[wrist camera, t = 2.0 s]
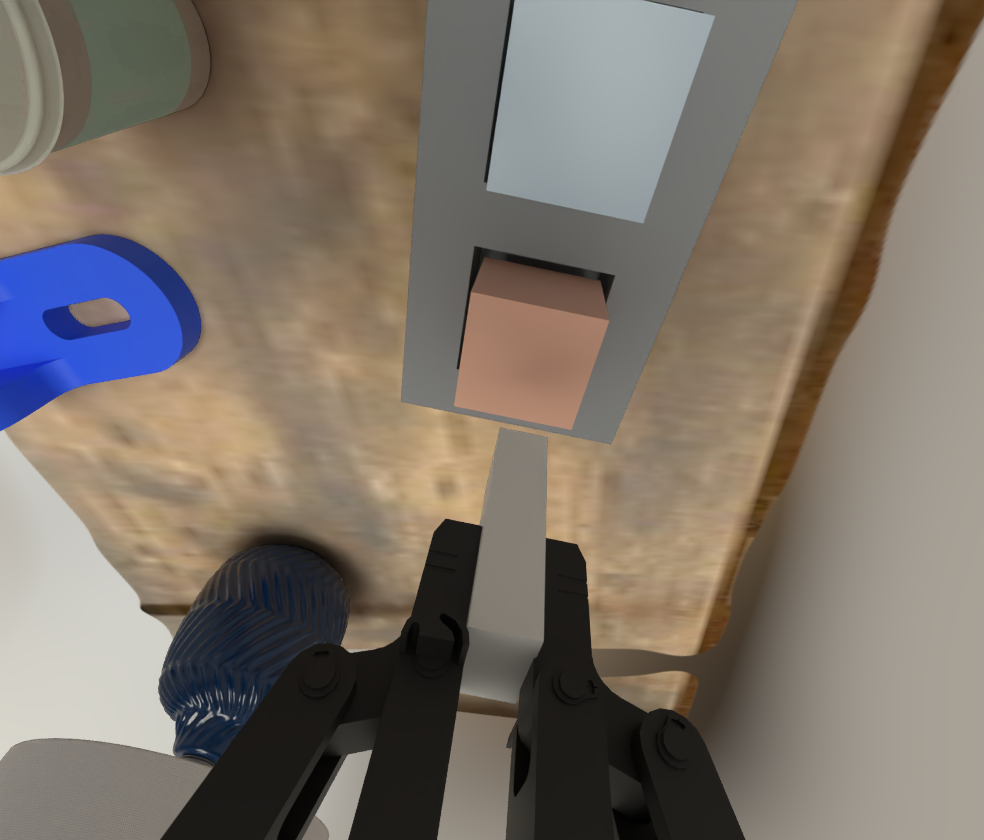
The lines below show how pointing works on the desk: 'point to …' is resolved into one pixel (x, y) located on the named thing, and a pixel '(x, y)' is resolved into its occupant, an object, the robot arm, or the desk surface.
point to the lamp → (182, 705)
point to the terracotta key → (530, 343)
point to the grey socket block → (556, 229)
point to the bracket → (73, 346)
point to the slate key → (593, 101)
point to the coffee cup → (92, 70)
